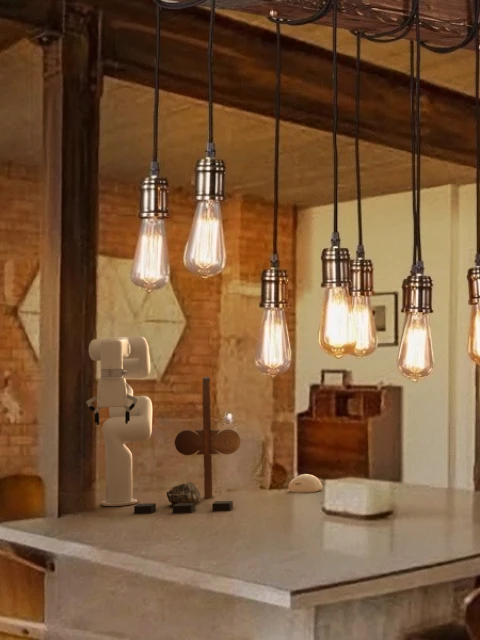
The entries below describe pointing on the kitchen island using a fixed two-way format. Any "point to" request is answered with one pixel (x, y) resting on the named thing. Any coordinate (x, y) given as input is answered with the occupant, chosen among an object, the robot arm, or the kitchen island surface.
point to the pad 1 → (144, 508)
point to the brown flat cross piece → (207, 440)
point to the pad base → (184, 508)
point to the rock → (184, 493)
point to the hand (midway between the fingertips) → (112, 424)
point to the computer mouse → (305, 484)
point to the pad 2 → (222, 505)
